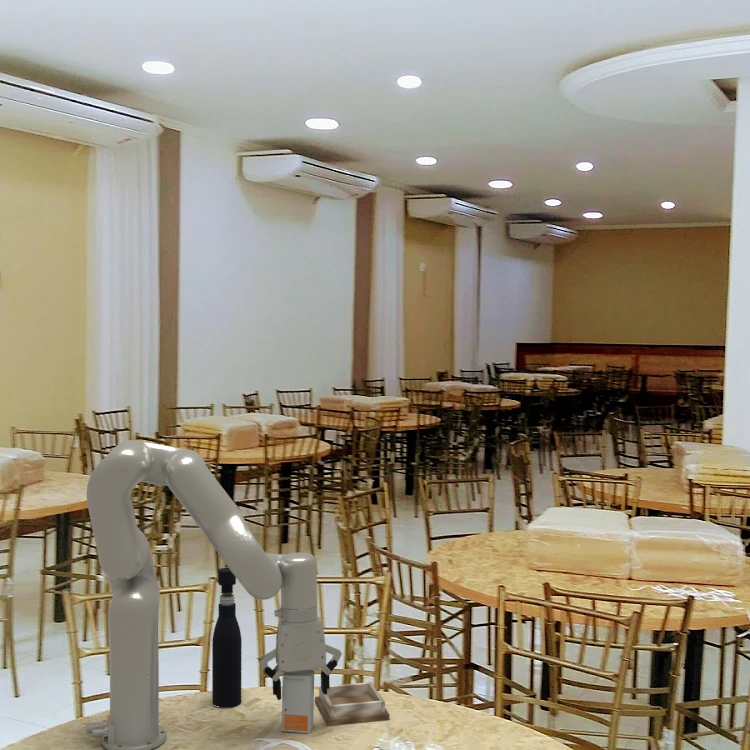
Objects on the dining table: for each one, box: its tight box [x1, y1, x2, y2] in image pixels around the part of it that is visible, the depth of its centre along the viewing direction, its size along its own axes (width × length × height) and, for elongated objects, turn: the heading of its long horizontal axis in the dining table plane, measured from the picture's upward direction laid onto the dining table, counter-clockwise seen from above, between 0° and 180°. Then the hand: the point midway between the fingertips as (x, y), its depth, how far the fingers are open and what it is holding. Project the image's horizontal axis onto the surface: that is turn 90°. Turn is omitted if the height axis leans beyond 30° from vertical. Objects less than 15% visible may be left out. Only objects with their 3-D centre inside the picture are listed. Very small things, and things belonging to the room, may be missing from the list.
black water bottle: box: [211, 567, 243, 708], centre depth 208 cm, size 6×6×30 cm
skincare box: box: [281, 670, 315, 734], centre depth 194 cm, size 6×4×12 cm
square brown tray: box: [314, 681, 390, 727], centre depth 204 cm, size 14×14×4 cm
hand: (301, 694), depth 194 cm, fingers open, 9 cm apart
